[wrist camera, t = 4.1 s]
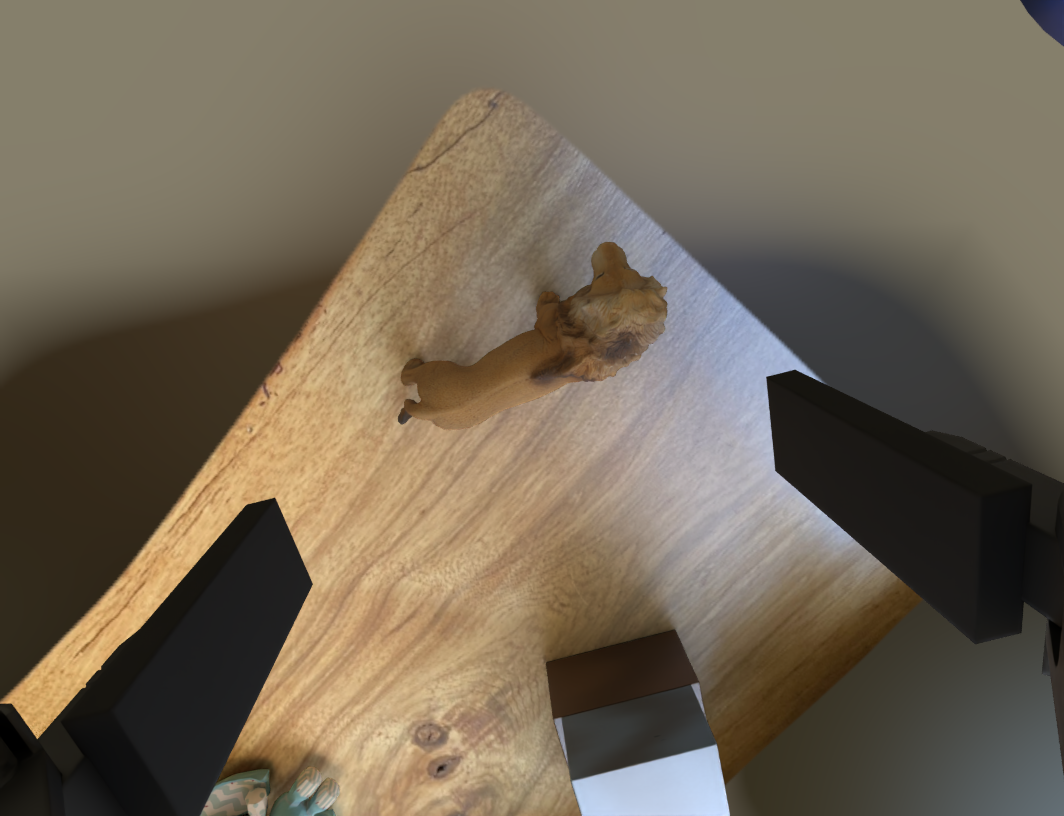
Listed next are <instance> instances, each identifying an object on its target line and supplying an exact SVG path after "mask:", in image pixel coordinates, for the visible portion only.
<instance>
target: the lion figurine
mask: <svg viewBox="0 0 1064 816" xmlns="http://www.w3.org/2000/svg"><path fill="white" fill-rule="evenodd" d="M591 262H592V267H593V270H594V278H593V281H592V283H591V285H587V286H585V287H583V288H581V289H580V290H578V292H577V293H576V294H575V295H573V296H572V297H569V298H568V299H567V300H565V301H561V302H560V301H559V298H560V297H559V296H558V295H556V294H554V293H553V292H543V293H542V294H541V296H540V297H539V300H538V303H537V306H536V311H537V318H538V319H537V322H536V323H535V326H534V328H535V330H531V331H527V332H525V333H522V334H520V335H518V336H516V337H514V338H512V339H510V340H509V341H507V342H505V343H504V344H502V345H501V346H499V347H497V348H496V349H494V350H492V351H491V352H489V353H488V354H487V355H485V356H484V357H483V358H482V359H481V360H479V361H478V362H477V363H475V364H474V365H472V366H468V367H463V366H459V365H457V364H455V363H453V362H451V361H431V362H427V363H424V362H423V361H422V360H419V359H412V360H410V361H409V362H407V363H406V365H405V366H404V368H403V370H402V374H401V381H402V383H403V385H405V386H410V385H415V384H417V389H418V394H419V397H420V398H421V401H420V402H419V403H416V402H415V401H414V400H410V399H406V400H405V402H404V408H402V409H401V413H400V414H399V416H398V422H399V423H400V424H404V423H406V422H407V420H408V419H410V418H411V417H412V416H413V417H415V418H418V419H421V420H430V421H432V423H433V424H435V425H436V426H438V427H440V428H442V429H446V430H459V429H466V428H470V427H473V426H475V425H477V424H480V423H482V422H483V421H485V420H487V419H488V418H490V417H491V416H493V415H495V414H497V413H499V412H501V411H503V410H506V409H508V408H511V407H514V406H517V405H520V404H523V403H526V402H529V401H532V400H535V399H537V398H540V397H542V396H544V395H546V394H548V393H551V392H553V391H555V390H557V389H559V388H560V387H562V386H564V385H566V384H567V383H571V382H580V381H585V382H588V381H592V382H594V381H603V380H604V379H606V378H607V377H608V376H611V377H614V376H615V375H616V372H617V371H618V370H619V369H620V368H622V367H627V366H628V365H629V364H630V362H632V361H636V360H639V359H640V357H641V354H642V353H643V352H644V351H646V350H647V349H648V346H649V344H653V343H654V342H655V341H656V340H657V338H658V336H659V335H660V334H663V333H664V332H665V326H664V321H665V320H666V316H667V308H666V307H667V302H666V301H665V300H664V299H663V297H664V296H665V294H666V292H667V287H662V286H661V284H660V283H659V282H658V281H657V280H656V279H655V278H654V277H653V276H651V277H641V276H640V275H639V273H638V272H637V271H636V270H634V269H631V268H630V267H629V265H628V263H627V259H626V255H625V252H624V251H623V249H622V248H620V247H619V246H617V244H615V243H613V242H604V243H602V244H600V245H599V247H598V248H597V250H596V251H595V252H594V253H593V255H592V259H591Z"/></svg>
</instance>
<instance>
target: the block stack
mask: <svg viewBox="0 0 1064 816" xmlns="http://www.w3.org/2000/svg"><path fill="white" fill-rule="evenodd" d="M546 669H547V676H548V684H549V692H550V700H551V707H552V715H553V721H554V724H555V727H556V730H557V733H558V737H559V740H560V743H561V746H562V750H563V753H564V756H565V759H566V762H567V766H568V769H569V774H570V781H571V784H572V787H573V790H574V793H575V797H576V800H577V803H578V806H579V809H580V813H581V816H730V813H729V807H728V802H727V797H726V791H725V785H724V780H723V774H722V769H721V763H720V758H719V753H718V747H717V743H716V740H715V738H714V736H713V733H712V731H711V729H710V727H709V724H708V722H707V720H706V716H705V711H704V705H703V700H702V695H701V689H700V684H699V681H698V678H697V676H696V674H695V672H694V670H693V667H692V665H691V663H690V661H689V659H688V657H687V654H686V652H685V650H684V648H683V646H682V643H681V641H680V639H679V637H678V635H677V632H676V631H675V630H673V631H669V632H665V633H661V634H657V635H653V636H649V637H646V638H642V639H638V640H634V641H630V642H626V643H622V644H618V645H614V646H610V647H606V648H602V649H598V650H594V651H591V652H587V653H583V654H579V655H575V656H571V657H567V658H563V659H559V660H555V661H551V662H547V663H546Z"/></svg>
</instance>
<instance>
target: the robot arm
mask: <svg viewBox="0 0 1064 816" xmlns="http://www.w3.org/2000/svg"><path fill="white" fill-rule="evenodd" d="M766 378H767V389H768V399H769V409H770V419H771V430H772V440H773V450H774V461H775V471H776V472H777V473H779V474H780V475H781V476H782V477H783V478H784V479H785V480H787V481H788V482H789V483H790V484H791V485H792V486H794V487H795V488H796V489H797V490H798V491H799V492H800V493H802V494H803V495H804V496H805V497H806V498H807V499H809V500H810V501H811V502H812V503H813V504H814V505H815V506H817V507H818V508H819V509H820V510H821V511H822V512H824V513H825V514H826V515H827V516H828V517H829V518H830V519H832V520H833V521H834V522H835V523H836V524H837V525H838V526H840V527H841V528H842V529H843V530H844V531H845V532H847V533H848V534H849V535H850V536H851V537H852V538H853V539H855V540H856V541H857V542H858V543H859V544H860V545H862V546H863V547H864V548H865V549H866V550H867V551H868V552H870V553H871V554H872V555H873V556H874V557H875V558H877V559H878V560H879V561H880V562H881V563H882V564H883V565H885V566H886V567H887V568H888V569H889V570H890V571H891V572H893V573H894V574H895V575H896V576H897V577H898V578H900V579H901V580H902V581H903V582H904V583H905V584H906V585H908V586H909V587H910V588H911V589H912V590H913V591H915V592H916V593H917V594H918V595H919V596H920V597H921V598H923V599H924V600H925V601H926V602H927V603H928V604H930V605H931V606H932V607H933V608H934V609H935V610H936V611H938V612H939V613H940V614H941V615H942V616H943V617H944V618H946V619H947V620H948V621H949V622H950V623H952V624H953V625H954V626H955V627H956V628H957V629H958V630H959V631H961V632H962V633H963V634H964V635H965V636H966V637H968V638H969V639H970V640H971V641H972V642H973V643H974V644H978V643H982V642H987V641H991V640H995V639H999V638H1003V637H1007V636H1011V635H1015V634H1019V633H1021V631H1022V618H1023V605H1024V602H1025V603H1027V604H1028V605H1030V606H1031V607H1032V608H1034V609H1035V610H1037V611H1038V612H1039V613H1041V614H1042V615H1044V616H1045V617H1046V618H1047V624H1046V635H1045V646H1044V657H1043V667H1042V674H1044V675H1048V676H1051V683H1052V690H1053V697H1054V705H1055V713H1056V721H1057V728H1058V735H1059V743H1060V750H1061V757H1062V766H1063V773H1064V483H1062V482H1059V481H1057V480H1055V479H1053V478H1051V477H1048V476H1046V475H1044V474H1042V473H1040V472H1037V471H1035V470H1033V469H1031V468H1028V467H1026V466H1024V465H1022V464H1019V463H1018V462H1015V461H1013V460H1011V459H1009V460H1006V458H1005V457H1004V456H1002V455H1000V454H998V453H996V452H993V451H991V450H989V451H987V450H986V448H985V447H982V446H980V445H978V444H976V443H974V442H971V441H969V440H967V439H965V438H963V437H959V436H954V435H949V434H945V433H941V432H936V431H929V432H923V431H921V430H919V429H917V428H915V427H912V426H911V425H909V424H906V423H904V422H902V421H900V420H898V419H896V418H894V417H892V416H890V415H888V414H886V413H884V412H881V411H879V410H877V409H875V408H873V407H871V406H869V405H867V404H865V403H863V402H861V401H859V400H857V399H855V398H853V397H850V396H848V395H846V394H844V393H842V392H840V391H838V390H836V389H834V388H832V387H830V386H828V385H826V384H824V383H821V382H819V381H817V380H815V379H813V378H811V377H809V376H807V375H805V374H803V373H801V372H799V371H797V370H792V371H788V372H784V373H780V374H776V375H772V376H768V377H766ZM312 585H313V583H312V581H311V579H310V576H309V574H308V572H307V570H306V567H305V565H304V563H303V560H302V558H301V556H300V554H299V551H298V549H297V547H296V544H295V542H294V540H293V538H292V535H291V533H290V531H289V528H288V526H287V524H286V522H285V519H284V517H283V515H282V512H281V510H280V508H279V505H278V503H277V501H276V499H275V498H272V499H268V500H264V501H260V502H256V503H252V504H248V505H246V506H245V507H244V508H243V510H242V511H241V512H240V513H239V514H238V515H237V517H236V518H235V519H234V520H233V521H232V522H231V524H230V525H229V526H228V527H227V528H226V529H225V531H224V532H223V533H222V534H221V535H220V536H219V538H218V539H217V540H216V541H215V542H214V543H213V545H212V546H211V547H210V548H209V549H208V550H207V552H206V553H205V554H204V555H203V556H202V557H201V558H200V560H199V561H198V562H197V563H196V564H195V565H194V567H193V568H192V569H191V570H190V571H189V572H188V574H187V575H186V576H185V577H184V578H183V579H182V581H181V582H180V583H179V584H178V585H177V586H176V588H175V589H174V590H173V591H172V592H171V593H170V595H169V596H168V597H167V598H166V599H165V600H164V602H163V603H162V604H161V605H160V606H159V607H158V609H157V610H156V611H155V612H154V613H153V614H152V616H151V617H150V618H149V619H148V620H147V621H146V623H145V624H144V625H143V626H142V627H141V628H140V629H139V630H138V631H137V632H136V633H134V634H133V635H132V636H131V637H129V638H128V639H127V640H126V641H124V642H123V643H122V644H121V645H119V647H118V648H117V649H116V650H115V651H114V652H113V653H112V655H111V656H110V657H109V658H108V659H107V660H106V661H105V663H104V664H103V665H102V666H101V670H98V671H97V672H96V673H95V674H94V675H93V676H92V677H91V679H90V680H89V681H88V682H87V683H86V688H82V689H81V690H80V691H79V692H78V693H77V695H76V696H75V697H74V698H73V699H72V700H71V701H70V703H69V704H68V705H67V706H66V707H65V708H64V709H63V711H62V712H61V713H60V714H59V715H58V716H57V718H56V719H55V720H54V721H53V722H52V723H51V724H50V726H49V727H48V728H47V729H46V730H45V731H44V732H43V734H42V735H41V736H40V737H39V738H38V739H37V738H36V737H35V735H34V734H33V733H32V731H31V730H30V728H29V727H28V726H27V724H26V723H25V721H24V720H23V719H22V717H21V716H20V714H19V713H18V712H17V710H16V709H15V708H14V706H13V705H12V704H0V816H200V815H201V813H202V811H203V809H204V807H205V805H206V803H207V801H208V799H209V796H210V794H211V792H212V790H213V788H214V786H215V784H216V782H217V780H218V778H219V776H220V774H221V772H222V770H223V768H224V766H225V764H226V762H227V760H228V757H229V755H230V753H231V751H232V749H233V747H234V745H235V743H236V741H237V739H238V737H239V735H240V733H241V731H242V729H243V727H244V725H245V723H246V720H247V718H248V716H249V714H250V712H251V710H252V708H253V706H254V704H255V702H256V700H257V698H258V696H259V694H260V692H261V690H262V688H263V686H264V684H265V681H266V679H267V677H268V675H269V673H270V671H271V669H272V667H273V665H274V663H275V661H276V659H277V657H278V655H279V653H280V651H281V649H282V647H283V644H284V642H285V640H286V638H287V636H288V634H289V632H290V630H291V628H292V626H293V624H294V622H295V620H296V618H297V616H298V614H299V612H300V610H301V608H302V605H303V603H304V601H305V599H306V597H307V595H308V593H309V591H310V589H311V587H312Z"/></svg>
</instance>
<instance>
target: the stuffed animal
mask: <svg viewBox="0 0 1064 816" xmlns="http://www.w3.org/2000/svg"><path fill="white" fill-rule="evenodd" d="M269 776H270V775H269V769H258V770H253V771H248V772H243V773H238V774H234V775H231V776H229V777H227V778H225V779H223V780H221V781H219V782H217V783H216V784H215V786H214V788H213V790H212V792H211V794H210V796H209V799H208V801H207V803H206V805H205V807H204V809H203V811H202V813H201V815H200V816H242V815H244V814H246V813H249V815H248V816H265V815H266V812H267V808H268V799H267V796H268V795H269V793H270V784H269ZM321 782H322V776H321V773H320V772H319V771H318V770H317V769H316V768H315V767H311V766H308V767H307V768H306V769H305V770H304V771H302V773H301V774H300V775H299V777H298V778H297V779H296V781H295V782H294V784H293V785H292V787H291V789H290V791H288V792H285V793H284V794H282V795H281V796H280V797H279V798H278V799H277V800H276V801H275V803H274V805H273V807H272V810H271V812H270V815H269V816H335V813H334V811H333V809H330V810H326V809H327V808H328V807H330V806H331V805H332V804H333V802H334V801H335V800H336V798H337V797H338V796H339V794H340V789H339V785H338V783H337V782H336V781H335V780H334V779H331V778H327V779H326V780H325V781H323V782H322V783H321ZM320 783H321V785H320ZM319 785H320V786H319ZM318 786H319V787H318ZM317 788H318V789H317ZM316 789H317V790H316ZM315 790H316V792H315ZM314 792H315V794H314V795H313V797H312V798H311V800H309V799H308V798H309V797H310V796H311V795H312V794H313V793H314Z"/></svg>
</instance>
